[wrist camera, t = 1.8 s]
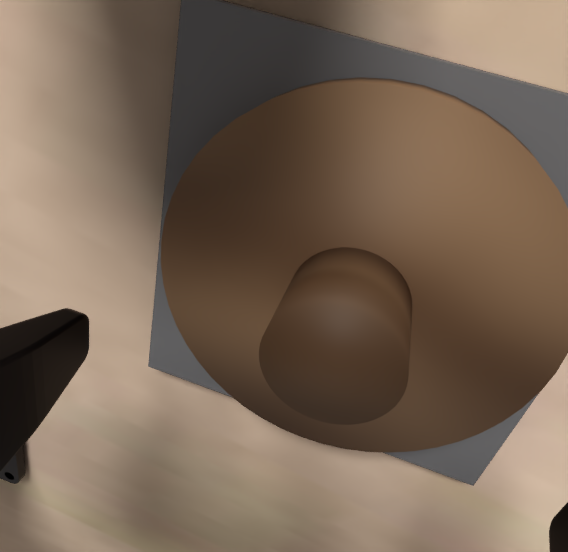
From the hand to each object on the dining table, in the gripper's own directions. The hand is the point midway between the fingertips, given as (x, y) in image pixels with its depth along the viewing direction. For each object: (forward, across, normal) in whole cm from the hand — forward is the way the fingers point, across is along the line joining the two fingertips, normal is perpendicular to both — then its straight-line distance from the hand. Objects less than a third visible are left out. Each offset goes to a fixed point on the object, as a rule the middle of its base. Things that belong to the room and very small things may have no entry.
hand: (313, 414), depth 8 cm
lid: (+5, 0, 0) cm, 5 cm away
